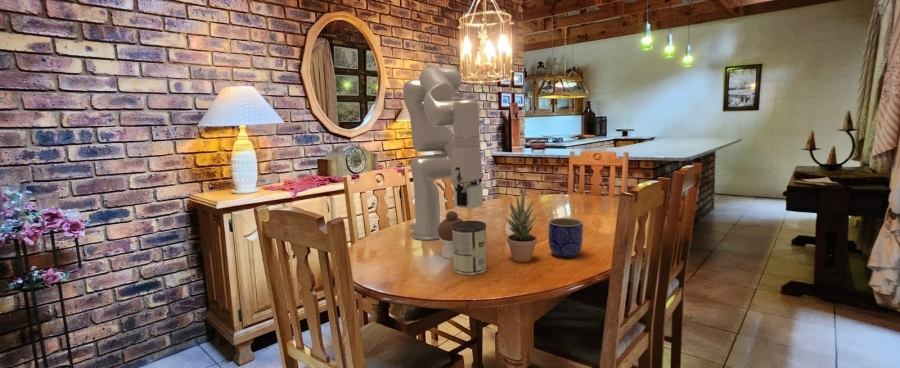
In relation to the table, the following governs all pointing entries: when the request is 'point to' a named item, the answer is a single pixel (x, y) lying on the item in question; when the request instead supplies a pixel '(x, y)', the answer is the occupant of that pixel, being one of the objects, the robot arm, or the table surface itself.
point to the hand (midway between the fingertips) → (468, 203)
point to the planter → (565, 237)
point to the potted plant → (521, 232)
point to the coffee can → (469, 247)
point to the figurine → (447, 234)
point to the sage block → (471, 196)
